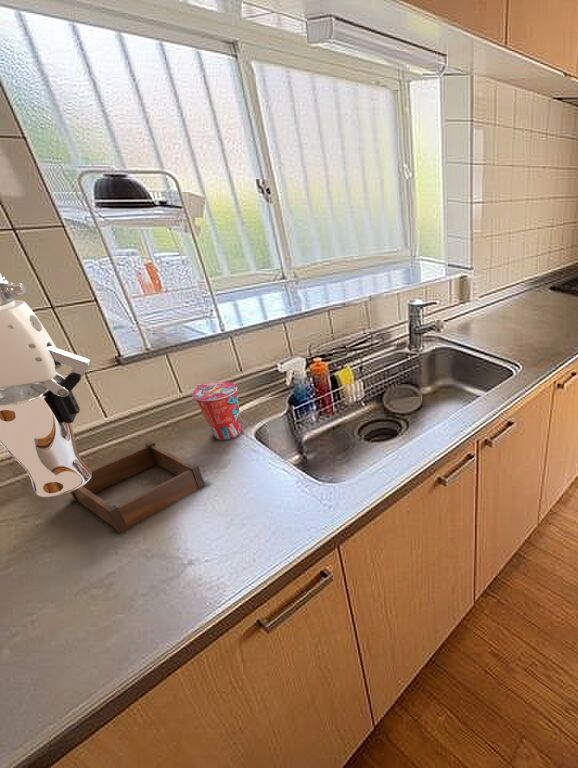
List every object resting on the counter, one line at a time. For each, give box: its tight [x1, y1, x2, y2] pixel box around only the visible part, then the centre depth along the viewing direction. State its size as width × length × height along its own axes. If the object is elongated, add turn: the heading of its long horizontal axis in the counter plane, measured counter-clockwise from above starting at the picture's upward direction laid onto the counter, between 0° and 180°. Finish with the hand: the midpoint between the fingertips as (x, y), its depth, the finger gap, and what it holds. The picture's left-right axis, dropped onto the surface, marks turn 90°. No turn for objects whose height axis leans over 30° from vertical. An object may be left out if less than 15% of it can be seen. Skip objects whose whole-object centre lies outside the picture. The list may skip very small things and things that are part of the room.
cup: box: [191, 381, 242, 441], centre depth 96 cm, size 9×8×12 cm
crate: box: [69, 440, 206, 534], centre depth 79 cm, size 16×14×5 cm
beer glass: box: [0, 383, 92, 498], centre depth 58 cm, size 7×7×15 cm
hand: (32, 424), depth 57 cm, fingers closed on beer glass, 7 cm apart
